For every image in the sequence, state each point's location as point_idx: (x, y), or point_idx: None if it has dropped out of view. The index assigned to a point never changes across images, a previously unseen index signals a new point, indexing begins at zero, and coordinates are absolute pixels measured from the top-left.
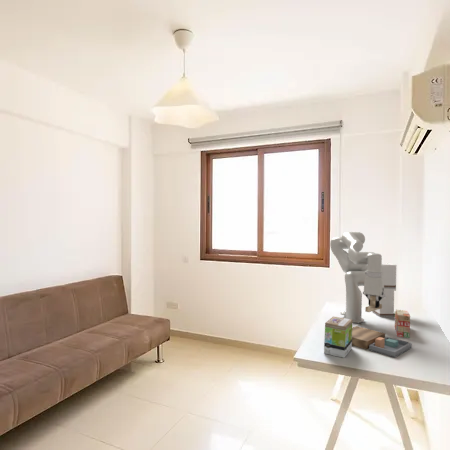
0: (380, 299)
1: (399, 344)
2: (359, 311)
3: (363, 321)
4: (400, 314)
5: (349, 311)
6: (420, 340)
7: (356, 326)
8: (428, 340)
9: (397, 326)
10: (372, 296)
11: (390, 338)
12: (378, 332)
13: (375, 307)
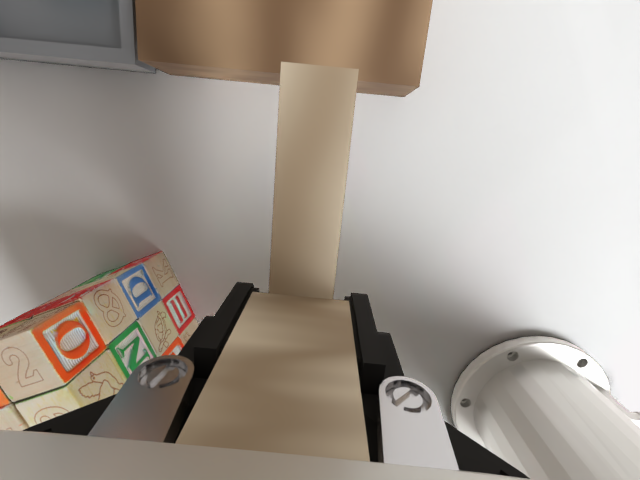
0: (89, 423)
1: (45, 34)
2: (517, 451)
3: (452, 404)
4: (17, 365)
5: (602, 410)
6: (31, 273)
7: (414, 68)
8: (4, 308)
9: (117, 275)
10: (287, 446)
11: (104, 48)
12: (187, 32)
13: (255, 288)
